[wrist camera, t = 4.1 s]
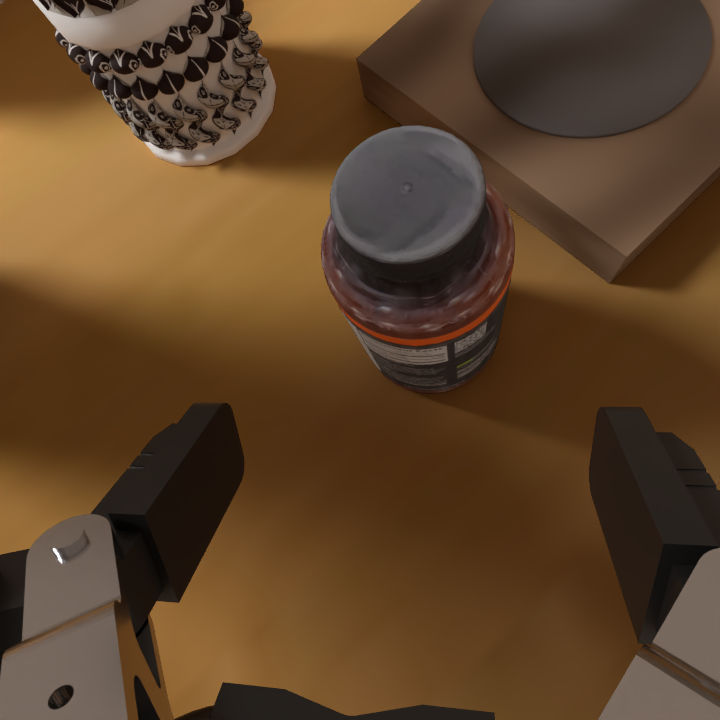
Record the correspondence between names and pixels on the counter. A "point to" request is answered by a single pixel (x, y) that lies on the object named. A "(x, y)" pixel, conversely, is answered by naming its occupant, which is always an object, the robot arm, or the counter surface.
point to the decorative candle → (172, 70)
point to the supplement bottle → (419, 256)
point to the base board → (567, 108)
